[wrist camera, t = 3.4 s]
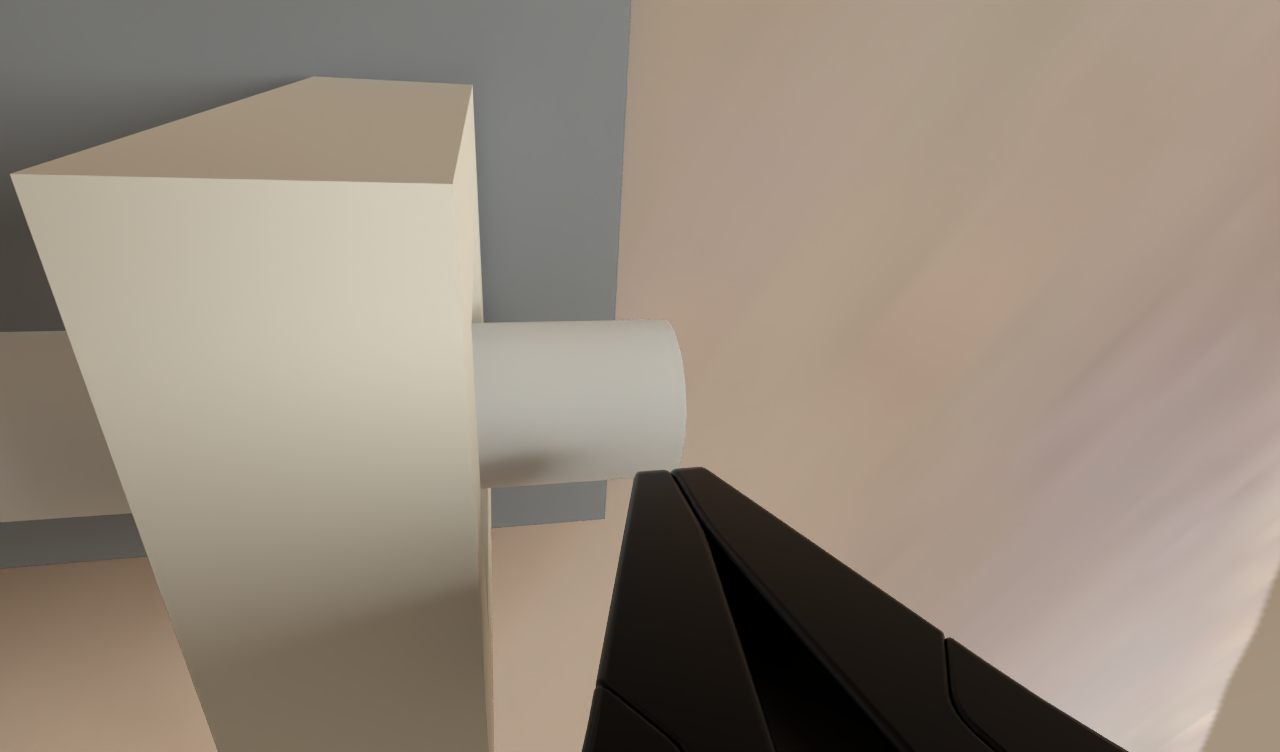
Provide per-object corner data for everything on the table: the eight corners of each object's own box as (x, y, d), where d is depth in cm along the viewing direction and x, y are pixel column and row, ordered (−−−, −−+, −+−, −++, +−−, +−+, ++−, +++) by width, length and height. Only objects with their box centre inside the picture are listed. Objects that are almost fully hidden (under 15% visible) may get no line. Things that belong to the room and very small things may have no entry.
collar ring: (472, 84, 11) (453, 184, 4) (490, 470, 15) (495, 855, 8) (313, 76, 11) (11, 174, 4) (373, 478, 14) (270, 896, 8)
